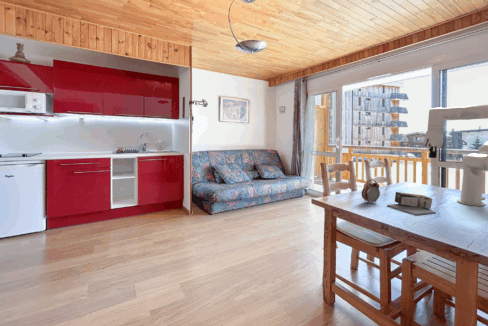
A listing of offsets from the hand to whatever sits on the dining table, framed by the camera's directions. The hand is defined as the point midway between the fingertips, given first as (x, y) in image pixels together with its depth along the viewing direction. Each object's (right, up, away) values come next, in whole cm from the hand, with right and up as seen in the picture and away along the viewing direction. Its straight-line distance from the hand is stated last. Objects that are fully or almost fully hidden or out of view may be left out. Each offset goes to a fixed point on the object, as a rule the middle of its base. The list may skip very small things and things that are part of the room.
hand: (432, 157), depth 145 cm
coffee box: (-8, -27, -6) cm, 29 cm away
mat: (-22, -31, -11) cm, 39 cm away
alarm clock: (-37, -29, +4) cm, 47 cm away
